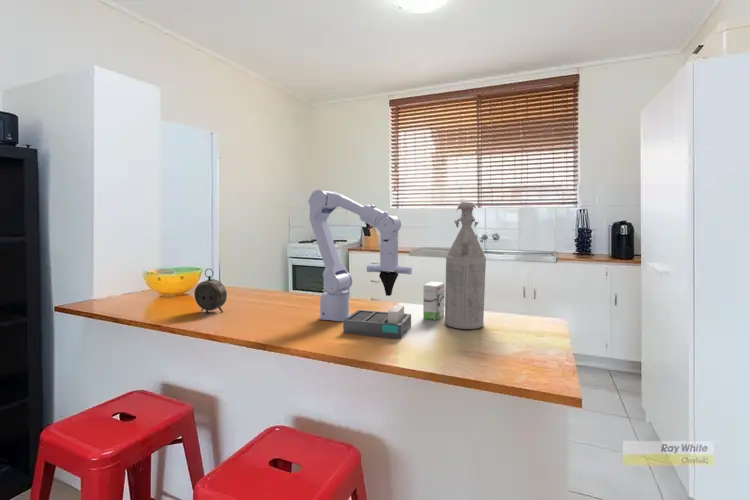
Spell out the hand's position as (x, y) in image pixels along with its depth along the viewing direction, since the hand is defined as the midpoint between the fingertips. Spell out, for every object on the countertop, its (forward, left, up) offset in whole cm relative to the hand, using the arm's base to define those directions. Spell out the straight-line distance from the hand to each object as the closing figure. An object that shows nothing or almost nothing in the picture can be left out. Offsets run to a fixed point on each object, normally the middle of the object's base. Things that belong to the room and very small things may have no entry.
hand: (388, 295), depth 126 cm
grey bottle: (+23, +8, -10) cm, 27 cm away
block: (+4, -6, -9) cm, 11 cm away
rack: (-2, -6, -10) cm, 12 cm away
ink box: (+12, +14, -10) cm, 21 cm away
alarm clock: (-66, -5, -10) cm, 67 cm away
